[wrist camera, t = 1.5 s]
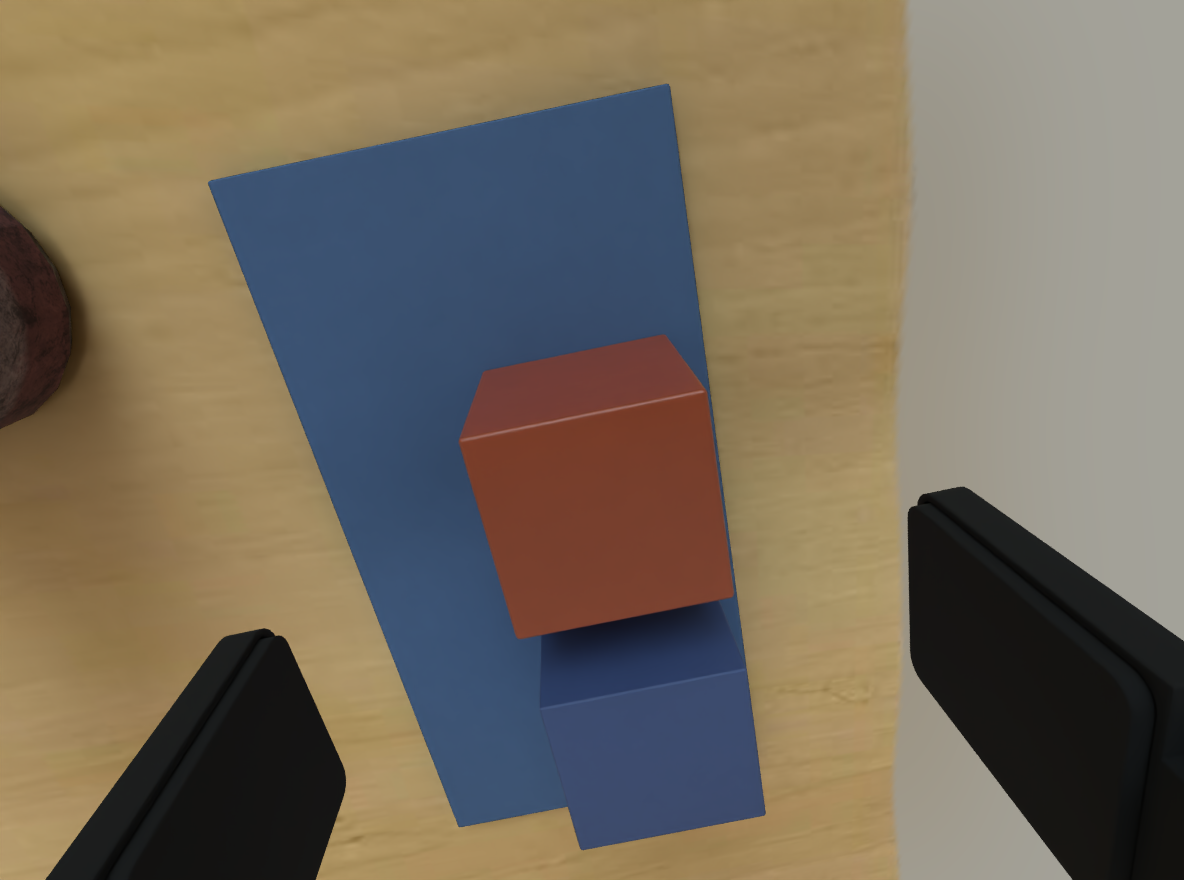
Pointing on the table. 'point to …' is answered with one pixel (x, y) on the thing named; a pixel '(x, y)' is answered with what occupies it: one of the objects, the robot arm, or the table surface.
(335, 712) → the table surface
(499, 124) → the blue mat
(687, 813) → the blue block
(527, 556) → the terracotta block
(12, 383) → the can
